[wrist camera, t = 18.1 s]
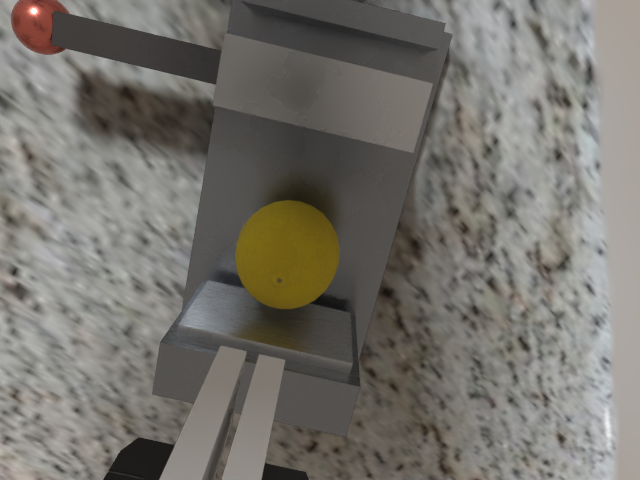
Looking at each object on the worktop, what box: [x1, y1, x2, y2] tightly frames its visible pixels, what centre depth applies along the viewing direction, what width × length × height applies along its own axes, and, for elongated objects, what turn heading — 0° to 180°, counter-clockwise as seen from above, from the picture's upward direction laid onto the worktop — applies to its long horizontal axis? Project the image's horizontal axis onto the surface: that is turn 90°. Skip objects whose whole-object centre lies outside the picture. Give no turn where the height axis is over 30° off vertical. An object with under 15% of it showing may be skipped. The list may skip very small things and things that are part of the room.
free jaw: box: [11, 0, 433, 153], centre depth 25 cm, size 3×20×7 cm, turn 77°
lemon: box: [235, 200, 340, 309], centre depth 27 cm, size 6×6×8 cm
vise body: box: [152, 0, 452, 437], centre depth 27 cm, size 21×12×9 cm, turn 167°
